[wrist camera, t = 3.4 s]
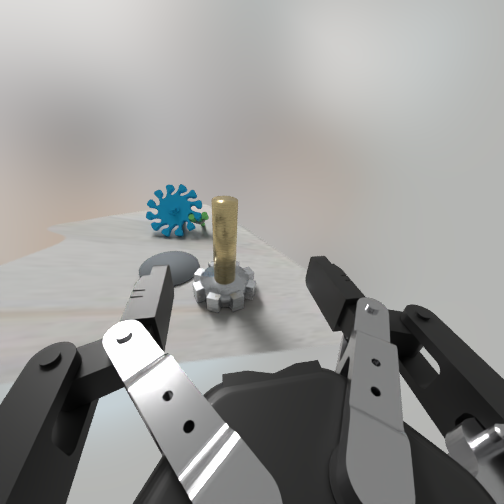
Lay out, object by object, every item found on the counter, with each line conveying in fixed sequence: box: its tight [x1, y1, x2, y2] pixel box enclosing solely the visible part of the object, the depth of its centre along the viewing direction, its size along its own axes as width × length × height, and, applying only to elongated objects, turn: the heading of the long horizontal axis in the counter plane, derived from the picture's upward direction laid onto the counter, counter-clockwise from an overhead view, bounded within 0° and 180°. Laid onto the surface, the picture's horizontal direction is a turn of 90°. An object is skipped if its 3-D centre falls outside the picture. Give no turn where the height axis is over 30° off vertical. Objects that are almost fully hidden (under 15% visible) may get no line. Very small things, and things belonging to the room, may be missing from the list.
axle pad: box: [139, 251, 199, 286], centre depth 31 cm, size 8×8×1 cm
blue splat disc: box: [146, 184, 209, 237], centre depth 41 cm, size 11×6×10 cm
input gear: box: [193, 196, 256, 313], centre depth 25 cm, size 8×8×12 cm
